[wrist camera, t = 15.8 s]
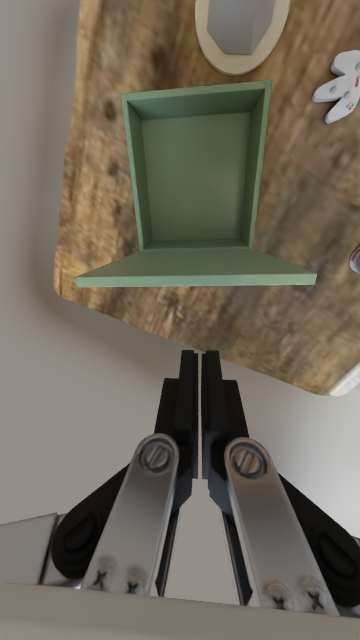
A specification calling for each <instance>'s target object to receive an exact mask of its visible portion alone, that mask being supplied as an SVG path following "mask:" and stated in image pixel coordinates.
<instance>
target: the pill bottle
mask: <svg viewBox="0 0 360 640" xmlns="http://www.w3.org/2000/svg"><path fill="white" fill-rule="evenodd" d="M350 267H351V268H352V270H354V271H355V272H357V273H360V247H359V248H357V249H356V250H355V251H354V252H353V254H352V256H351V258H350Z"/></svg>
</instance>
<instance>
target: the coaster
mask: <svg viewBox="0 0 360 640" xmlns="http://www.w3.org/2000/svg"><path fill="white" fill-rule="evenodd" d="M289 5H290V0H275V5H274V11H273V17H272V23H271V25H270V27H269V28H268V30H267V31H266V32H265V34H264V35H263V37H262V38H261V40H260V41H259V43H258V44H257V46H256V47H255V49H254V50H253V52H252V53H251V54H229V53H225V52H224V51H223V50H222V48H221V47H220V46H219V45H218V43H217V42H216V41H215V39H214V38H213V37H212V36H211V34H210V33H209V32H208V30H207V23H208V10H209V0H196V1H195V27H196V34H197V38H198V42H199V45H200V48H201V51H202V53H203V55H204V57H205V58H206V60H207V61H208V62H209V64H210V65H211V66H212V67H213V68H214V69H215V70H217V71H218V72H220V73H222V74H225V75H229V76H239V75H244V74H246V73H249V72H251V71H252V70H254V69H255V68H257V67H258V66H259V65H260V64H262V63H263V62H264V61H265V59H266V58H267V57H268V56H269V55H270V53H271V52H272V50H273V49H274V47H275V45H276V43H277V42H278V40H279V38H280V35H281V33H282V31H283V28H284V25H285V22H286V19H287V15H288V11H289Z"/></svg>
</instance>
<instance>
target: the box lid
mask: <svg viewBox="0 0 360 640" xmlns="http://www.w3.org/2000/svg"><path fill="white" fill-rule="evenodd" d="M316 276H317V273H315V272H312V271H309V270H307V269H304V268H302V267H299V266H296V265H294V264H291V263H288V262H286V261H283V260H281V259H278V258H275V257H273V256H270V255H268V254H265V253H262V252H260V251H257V250H255V249H229V250H189V251H150V252H138V253H135V254H133V255H130V256H128V257H125V258H123V259H120V260H117V261H115V262H112V263H110V264H107V265H105V266H102V267H100V268H97V269H95V270H92V271H89V272H87V273H84V274H82V275H79V276H77V277H75V278H76V283H77V287H139V286H230V285H314V284H315V281H316Z"/></svg>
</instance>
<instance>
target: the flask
mask: <svg viewBox="0 0 360 640" xmlns="http://www.w3.org/2000/svg"><path fill="white" fill-rule="evenodd" d="M274 5H275V0H209V10H208V23H207V30H208V32H209V33H210V34H211V36H212V37H213V38H214V39H215V41H216V42H217V43H218V45H219V46H220V47H221V48H222V50H223V51H224V52H225V53H229V54H251V53H252V52H253V50H254V49H255V47H256V46H257V44H258V43H259V41H260V40H261V38H262V37H263V35H264V34H265V32H266V31H267V30H268V28H269V27H270V25H271V23H272V17H273V11H274Z"/></svg>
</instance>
